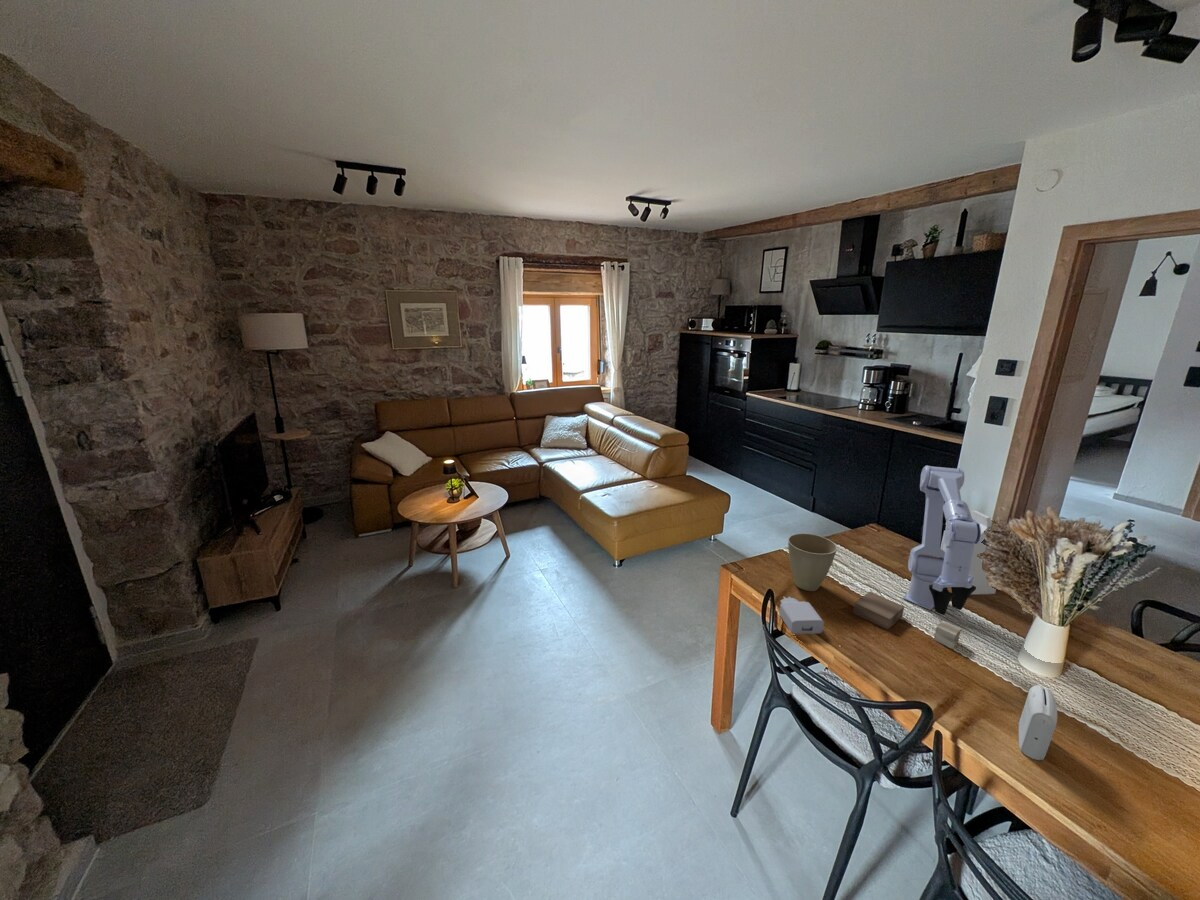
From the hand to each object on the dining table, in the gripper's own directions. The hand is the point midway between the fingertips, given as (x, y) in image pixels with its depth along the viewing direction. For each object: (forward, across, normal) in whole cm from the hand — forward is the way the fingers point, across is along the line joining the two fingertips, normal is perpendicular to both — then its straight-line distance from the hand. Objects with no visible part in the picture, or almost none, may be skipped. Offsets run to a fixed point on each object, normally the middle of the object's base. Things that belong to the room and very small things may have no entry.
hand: (948, 610), depth 126 cm
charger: (+12, -26, +27) cm, 39 cm away
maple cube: (+11, +4, +1) cm, 11 cm away
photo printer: (+15, -13, -26) cm, 33 cm away
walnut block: (+10, -3, +17) cm, 20 cm away
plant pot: (+9, -10, +38) cm, 40 cm away
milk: (+6, +39, +16) cm, 43 cm away
